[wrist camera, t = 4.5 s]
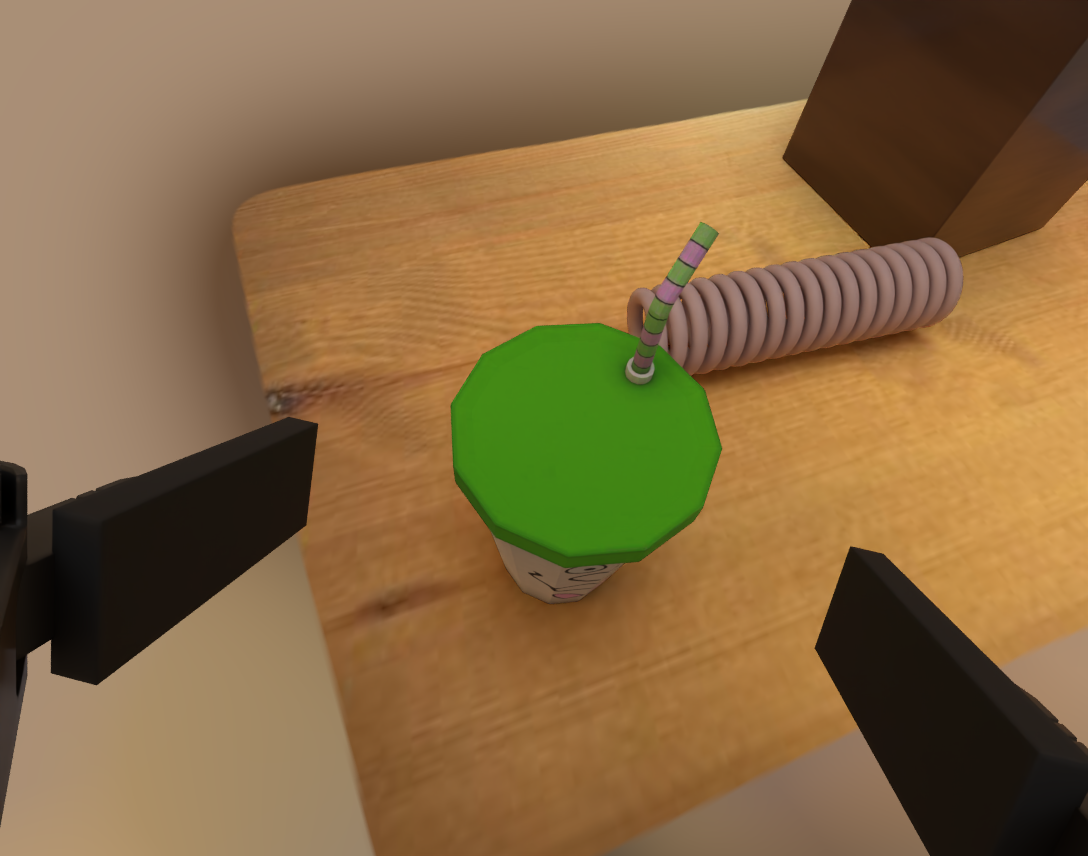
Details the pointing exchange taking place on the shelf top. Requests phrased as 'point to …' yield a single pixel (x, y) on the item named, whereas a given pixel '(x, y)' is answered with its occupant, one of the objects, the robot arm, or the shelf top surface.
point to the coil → (806, 304)
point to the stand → (949, 119)
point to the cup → (585, 445)
